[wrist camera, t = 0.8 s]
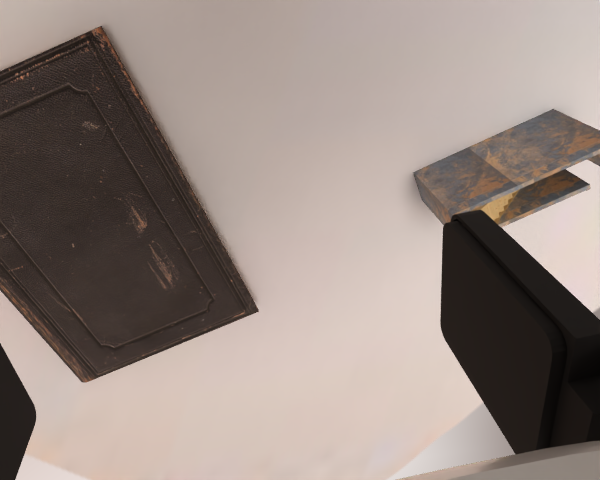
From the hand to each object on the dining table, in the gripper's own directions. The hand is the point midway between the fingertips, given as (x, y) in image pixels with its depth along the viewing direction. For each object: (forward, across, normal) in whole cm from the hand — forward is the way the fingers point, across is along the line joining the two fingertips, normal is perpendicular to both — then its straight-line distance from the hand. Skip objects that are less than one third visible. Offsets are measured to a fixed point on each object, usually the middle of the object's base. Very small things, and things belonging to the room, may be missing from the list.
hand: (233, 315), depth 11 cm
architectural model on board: (+27, -19, +10) cm, 34 cm away
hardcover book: (+27, +11, +10) cm, 31 cm away
